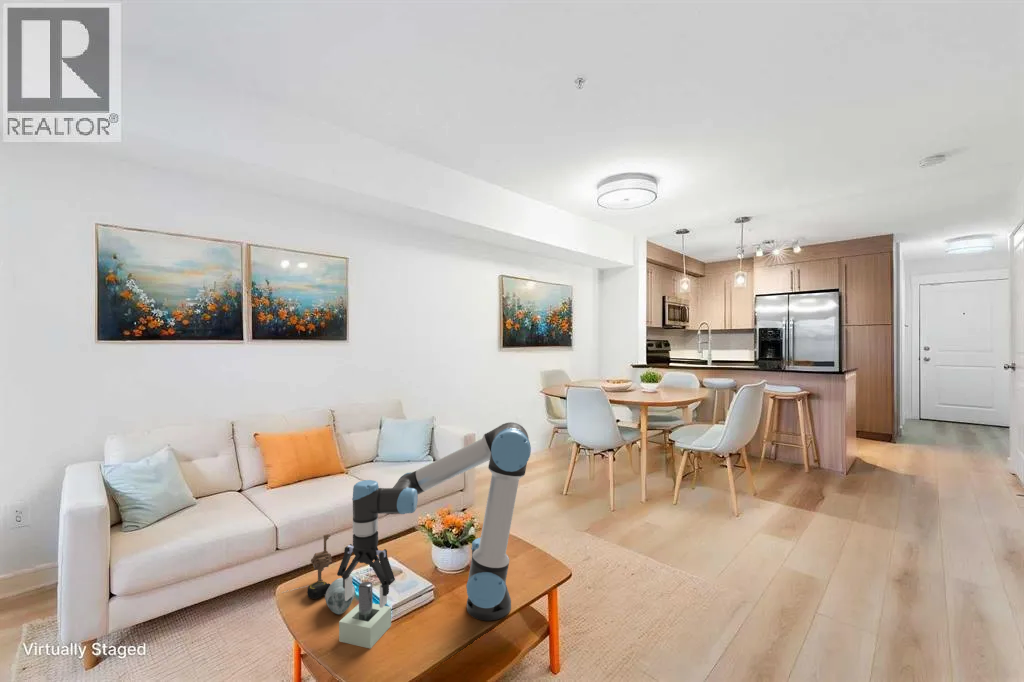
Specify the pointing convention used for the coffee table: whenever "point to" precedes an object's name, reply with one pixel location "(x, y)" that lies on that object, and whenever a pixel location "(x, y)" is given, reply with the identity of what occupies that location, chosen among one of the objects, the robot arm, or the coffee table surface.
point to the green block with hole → (364, 626)
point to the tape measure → (317, 589)
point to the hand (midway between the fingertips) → (365, 601)
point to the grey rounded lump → (338, 597)
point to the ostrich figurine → (321, 560)
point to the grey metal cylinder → (365, 601)
